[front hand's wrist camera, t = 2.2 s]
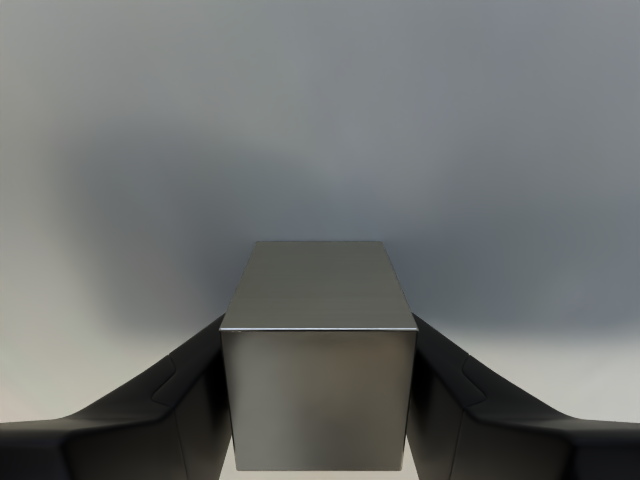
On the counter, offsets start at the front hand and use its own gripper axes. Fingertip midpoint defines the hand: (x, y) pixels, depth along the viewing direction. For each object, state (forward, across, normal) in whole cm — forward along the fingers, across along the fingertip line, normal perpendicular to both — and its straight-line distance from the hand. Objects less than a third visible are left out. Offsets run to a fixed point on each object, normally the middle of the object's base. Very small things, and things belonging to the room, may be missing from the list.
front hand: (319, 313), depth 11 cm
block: (+1, 0, 0) cm, 1 cm away
